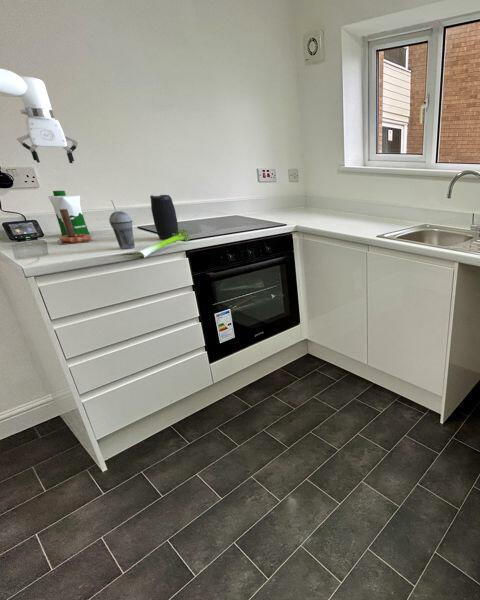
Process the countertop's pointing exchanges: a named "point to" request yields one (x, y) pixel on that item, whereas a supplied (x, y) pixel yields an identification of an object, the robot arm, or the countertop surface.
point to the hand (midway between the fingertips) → (55, 162)
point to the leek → (164, 243)
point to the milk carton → (69, 211)
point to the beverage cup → (122, 229)
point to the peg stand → (68, 227)
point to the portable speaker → (164, 216)
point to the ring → (75, 238)
